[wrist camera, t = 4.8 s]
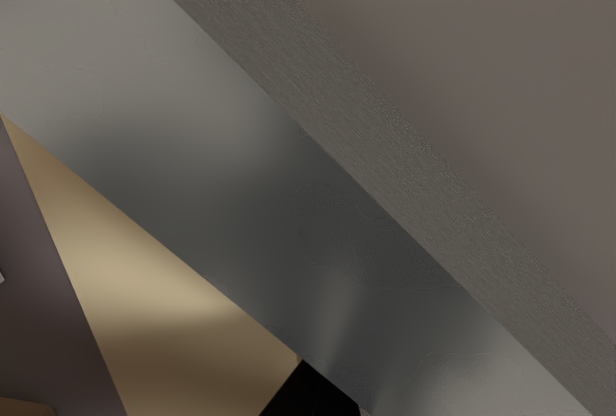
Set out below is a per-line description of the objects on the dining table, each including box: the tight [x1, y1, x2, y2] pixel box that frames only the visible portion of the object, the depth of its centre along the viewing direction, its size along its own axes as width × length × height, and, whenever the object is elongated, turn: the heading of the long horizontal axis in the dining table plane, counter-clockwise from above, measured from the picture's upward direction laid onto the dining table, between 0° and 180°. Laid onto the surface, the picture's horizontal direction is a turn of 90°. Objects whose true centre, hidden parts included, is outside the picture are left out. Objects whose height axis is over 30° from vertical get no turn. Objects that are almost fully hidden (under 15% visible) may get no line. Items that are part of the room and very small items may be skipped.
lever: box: [0, 0, 616, 416], centre depth 7 cm, size 16×3×4 cm, turn 46°
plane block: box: [0, 112, 302, 416], centre depth 11 cm, size 17×6×1 cm, turn 3°
